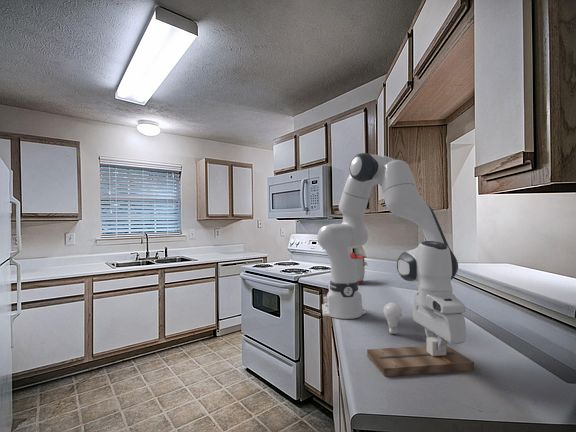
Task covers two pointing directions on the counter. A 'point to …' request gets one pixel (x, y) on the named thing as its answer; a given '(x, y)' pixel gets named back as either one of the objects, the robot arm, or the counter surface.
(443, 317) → the robot arm
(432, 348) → the fader tab
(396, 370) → the fader board
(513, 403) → the counter surface
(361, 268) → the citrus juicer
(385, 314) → the lightbulb
